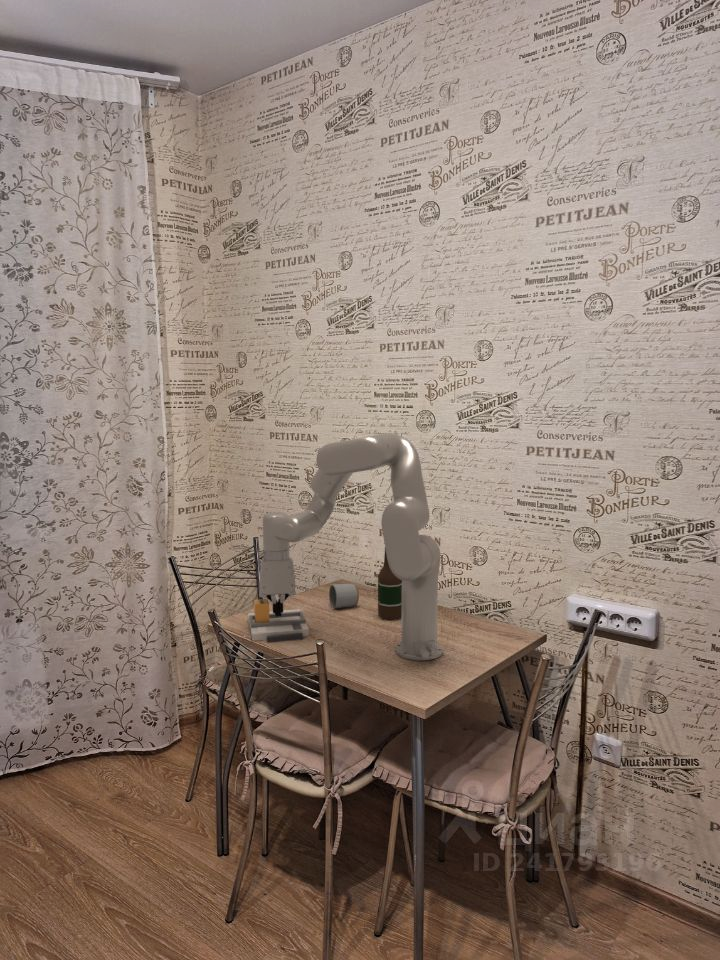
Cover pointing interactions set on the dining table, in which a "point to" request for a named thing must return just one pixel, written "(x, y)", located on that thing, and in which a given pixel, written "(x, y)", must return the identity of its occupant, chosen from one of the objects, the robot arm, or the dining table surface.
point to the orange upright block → (261, 610)
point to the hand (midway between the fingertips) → (278, 615)
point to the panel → (278, 625)
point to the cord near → (284, 637)
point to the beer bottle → (389, 593)
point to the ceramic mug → (343, 595)
